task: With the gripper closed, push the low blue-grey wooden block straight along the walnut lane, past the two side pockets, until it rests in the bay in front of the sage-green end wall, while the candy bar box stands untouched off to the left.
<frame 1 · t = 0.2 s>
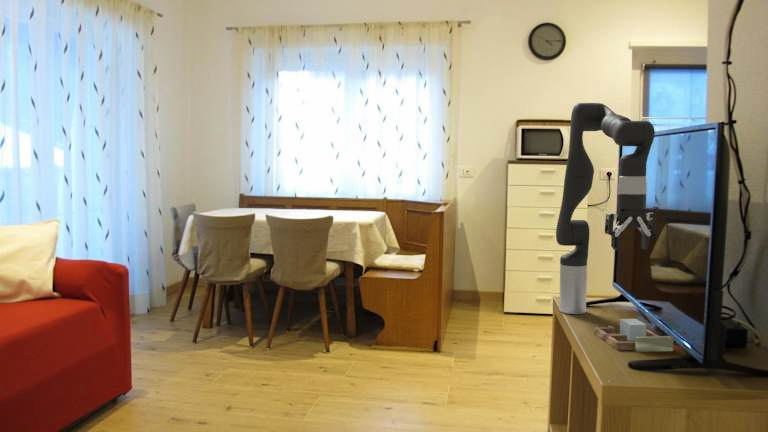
hand: (630, 249, 168), 29 cm above the table, tool pointing down, fingers open, 8 cm apart
candy bar box: (681, 334, 185), on the table
trap lane: (638, 341, 178), on the table
blue grey block: (632, 337, 182), resting in trap lane
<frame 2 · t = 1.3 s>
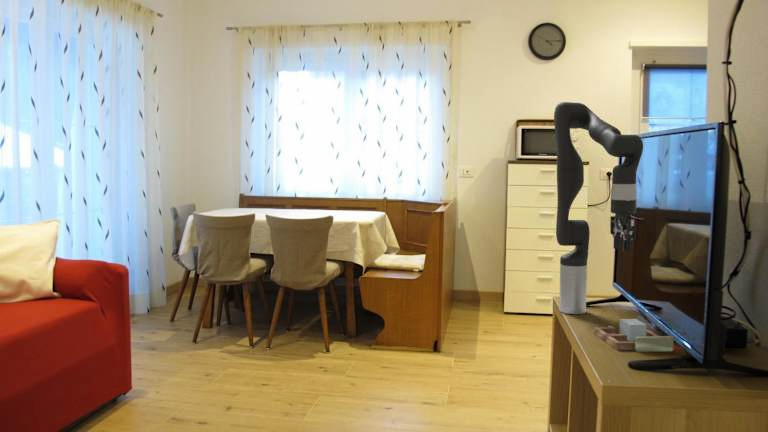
hand: (622, 250, 189), 26 cm above the table, tool pointing down, fingers open, 6 cm apart
nothing on the table moved.
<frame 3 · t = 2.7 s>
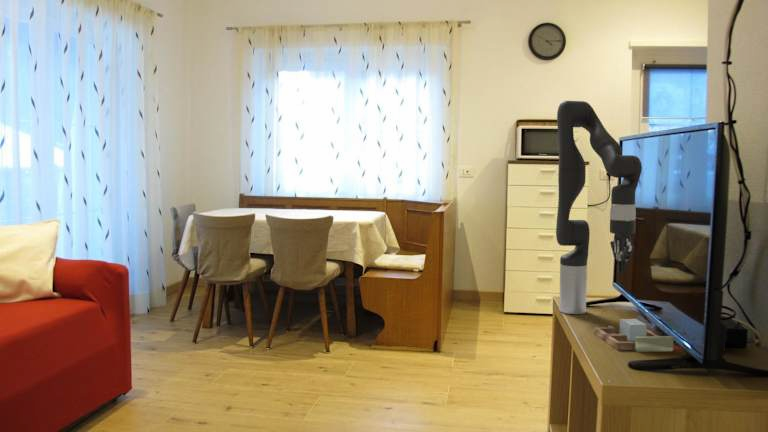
hand: (621, 272, 189), 18 cm above the table, tool pointing down, fingers closed
nothing on the table moved.
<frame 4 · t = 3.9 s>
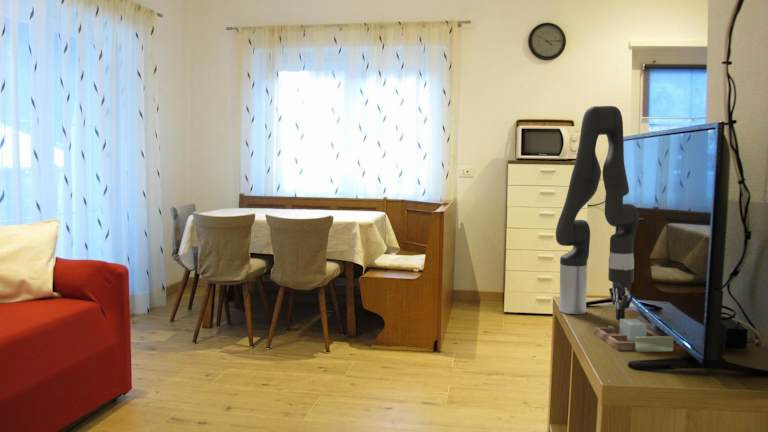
hand: (620, 320, 190), 3 cm above the table, tool pointing down, fingers closed
nothing on the table moved.
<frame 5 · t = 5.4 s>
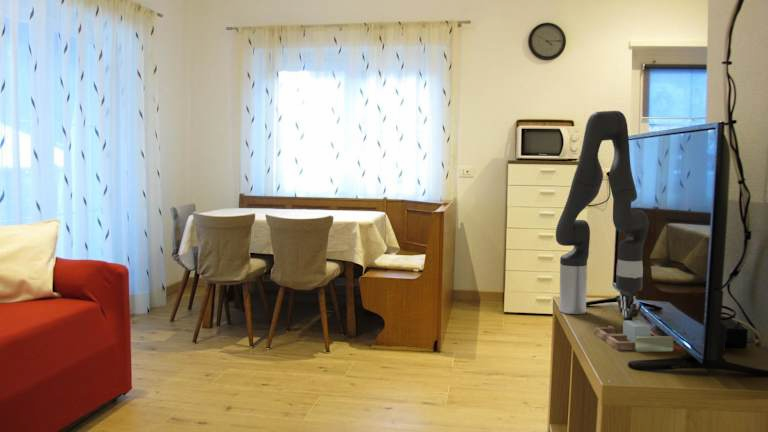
hand: (627, 328, 185), 2 cm above the table, tool pointing down, fingers closed
blue grey block: (636, 339, 179), resting in trap lane, touching gripper
everything else where it was.
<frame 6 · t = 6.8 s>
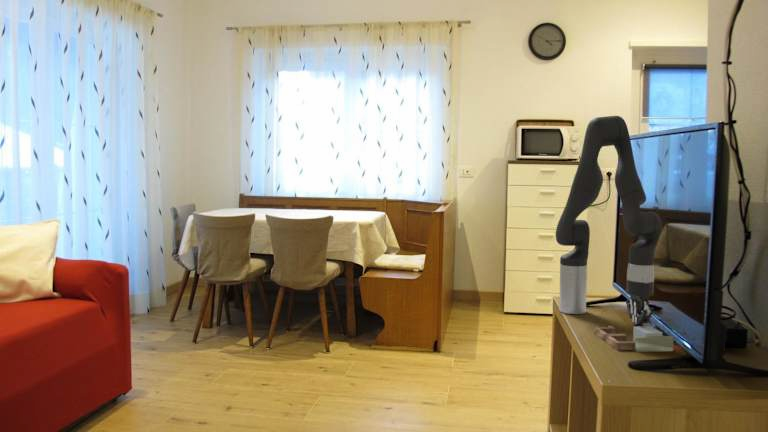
hand: (637, 335, 178), 2 cm above the table, tool pointing down, fingers closed
blue grey block: (647, 346, 173), resting in trap lane, touching gripper
everything else where it was.
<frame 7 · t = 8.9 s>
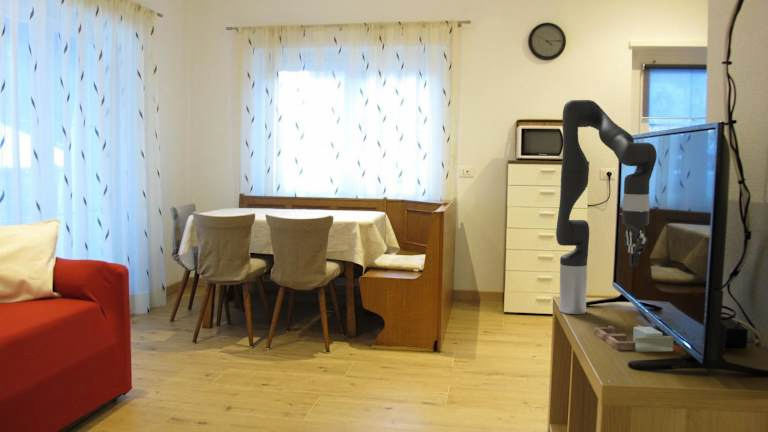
hand: (633, 265, 181), 22 cm above the table, tool pointing down, fingers closed
blue grey block: (647, 346, 173), resting in trap lane
everything else where it was.
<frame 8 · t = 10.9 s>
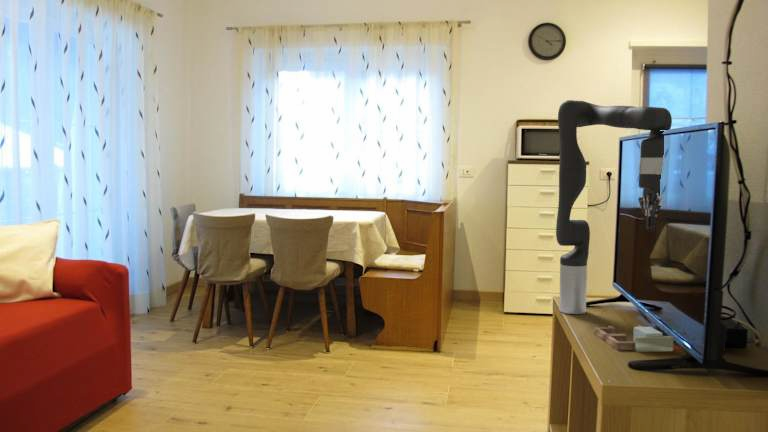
hand: (650, 228, 184), 33 cm above the table, tool pointing down, fingers closed
nothing on the table moved.
at the end: blue grey block inside the target area (0.5 cm from its centre), resting in trap lane; blue grey block tilted 0° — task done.
